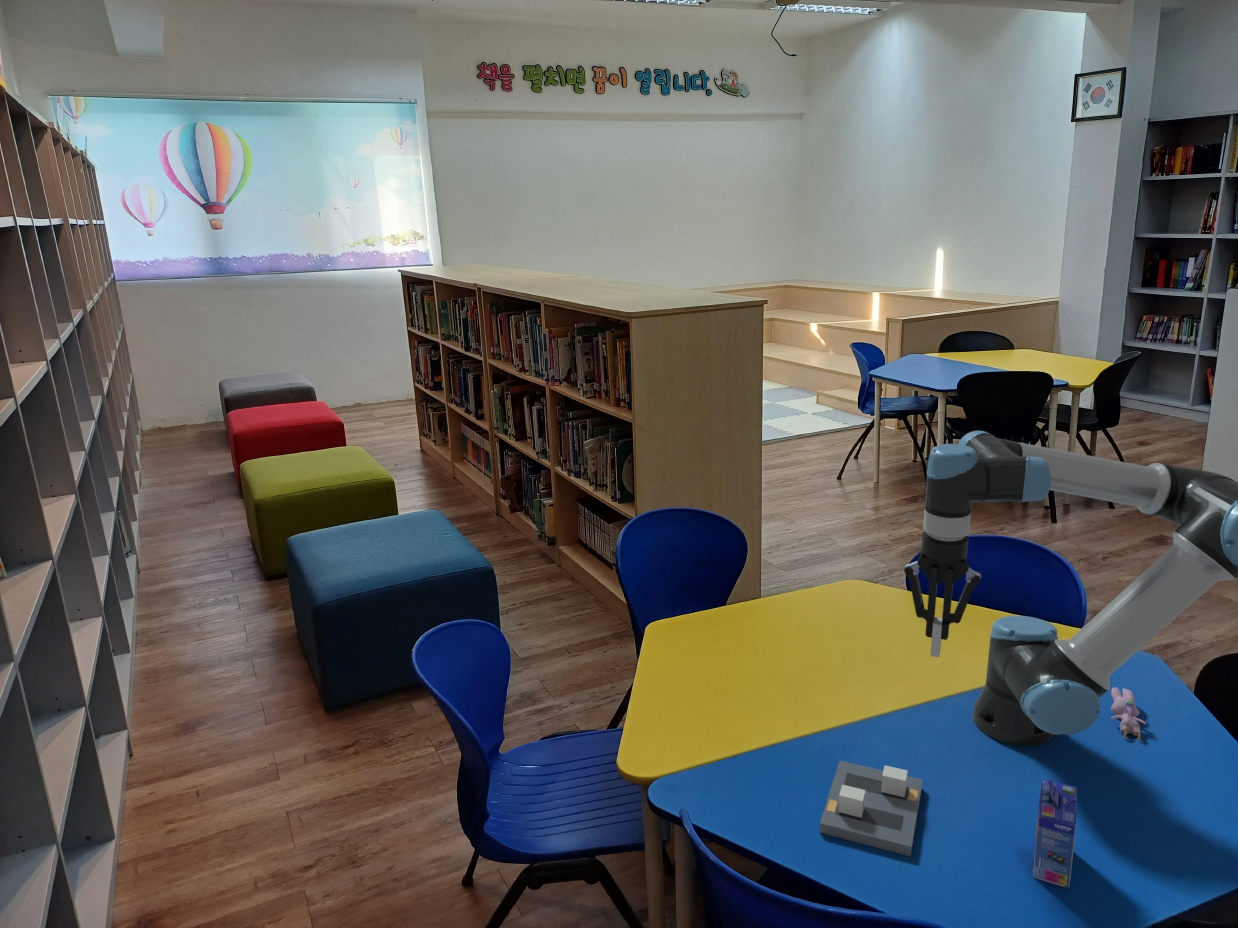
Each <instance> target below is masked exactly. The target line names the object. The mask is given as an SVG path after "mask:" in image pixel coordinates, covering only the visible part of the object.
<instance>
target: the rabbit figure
mask: <svg viewBox="0 0 1238 928" xmlns="http://www.w3.org/2000/svg"><path fill="white" fill-rule="evenodd" d="M1110 695H1111V698H1112V700H1113V703H1112V705H1111V707H1110V710H1111V712H1112V713H1113V714H1114V716H1111V717H1110V720H1112V721H1113V720H1115V719H1119V720H1121V722H1120V724H1119V730H1120V733H1122V734H1123V736H1122V739H1124V740H1125V738H1128V736H1127V735H1128V734H1131V735H1133V736H1134V737H1137V738H1136V739H1135V740H1138V741H1142V738H1141V733H1142V732H1141V726H1140V723H1142V725H1145V726H1146V725H1147V722H1146V721H1144V720H1142V719H1140V718H1137V717H1138V716H1139V715H1140V710H1139V709H1138V707H1137V706H1136V703H1135V695H1134V693H1133V691H1131V690H1130V689H1128V688H1122V693H1121V690H1120V688H1118V687H1116V686H1115V687H1112V688H1111V693H1110Z"/></svg>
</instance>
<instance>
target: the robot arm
mask: <svg viewBox="0 0 1238 928" xmlns="http://www.w3.org/2000/svg"><path fill="white" fill-rule="evenodd" d="M927 463H928V464H927V468H926V486H925V490H926V491H925V505H924V509H923V510H924V511H923V522H922V529H923V533H922V537H921V548H920V555H918V557H917V560H916V561H914V562H909V561H908V562H906V563H905V566H904V570H903V572H904V574H905V575H906V577H907V579H908V580H909V584H910V590H911V595H912V601H913V604H914V610H915V615H916V617H917V618H919V619H923V620H925V623H926V625H925V636H926V638H931V645H930V657H933V658H940V654H941V653H940V652H941V645H942V640H944V641H947V640H948V638H949V632H950V625H951V624H959V623H961V620H962V619H963V616H964V613H965V610H966V608H967V605H968V603H969V600H970V598H971V595H972V593H973V591H974V589H975V588H976V587H977V586H978V585H979V584H980V583H981V580H982V573H981V572H980V571H975V570H973V569H972V568H971V567H970V563H969V561H968V551H969V550H968V548H969V539H970V538H969V535H970V527H971V520H972V519H971V518H972V517H971V516H972V510H973V509H972V507H973V503H975V502H977V503H981V502H982V503H983V502H984V503H985V502H988V503H990V502H995V503H997V502H998V503H999V502H1002V503H1003V502H1004V503H1005V502H1008V503H1009V502H1017V503H1018V502H1021V503H1025V502H1033V501H1041V500H1043V499H1045V498H1047V495H1048V494H1049V493H1050V491H1054V492H1059V493H1065V494H1070V495H1075V496H1079V497H1086V498H1090V499H1095V500H1101V501H1106V502H1111V503H1117V504H1121V505H1127V506H1130V507H1131V506H1132V507H1137V508H1138V510H1139V512H1141V513H1142V514H1145V515H1150V516H1154V517H1157V518H1161V519H1162V520H1163V519H1164V520H1167V521H1168V522H1171V523H1172V524H1174V525H1176V526H1178V527H1177V528H1176V529H1175V530H1174V531H1173V532H1172V545H1171V547H1169V549H1167V550H1166V551H1165V552H1164V553H1163V554H1162V555H1161V556H1160V557H1159V558H1157V560H1155V562H1153V563H1152V564H1151V565H1149V567H1148V568H1147V569H1145V570H1144V571H1143V572H1142V573H1141V574H1140V575H1138V577H1137V578H1136V579H1134V581H1132V582H1131V583H1130V584H1129V585H1128V586H1127V587H1126V588H1125V589H1123V590H1122V591H1121V592H1120V593H1119V594H1118V595H1117V596H1116V597H1114V599H1113V600H1111V601H1110V602H1109V603H1108V604H1107V605H1106V606H1105V607H1103V609H1101V610H1100V612H1098V613H1097V614H1096V615H1095V616H1093V617H1092V619H1090V620H1089V621H1088V623H1086V624H1085V625H1084V626H1083V627H1081V629H1079V631H1077V632H1076V633H1075V634H1074V635H1073V636H1072V637H1071V638H1069V639H1059V636H1058V629H1057V627H1056V626H1055V625H1054V624H1052V623H1051V622H1049V621H1047V620H1044V619H1040V618H1037V617H1033V616H1029V615H1028V616H1026V615H1007V616H1003V617H1000V618H998V619H996V620H995V621H994V622H993V624H992V627H991V631H990V633H989V637H990V638H989V639H990V640H989V646H988V647H989V648H988V659H987V666H986V667H987V668H986V679H985V684H984V686H983V688H982V689H981V692H980V693H979V695H978V697H977V699H976V700H975V703H974V706H973V713H972V719H973V722H974V724H975V725H976V727H977V728H978V729H979V730H980V731H982V732H983V733H984V734H985V735H987V736H989V737H990V738H993V739H994V740H997V741H999V742H1002V743H1005V744H1009V745H1014V746H1019V747H1034V746H1035V747H1036V746H1040V745H1044V744H1045V743H1048V742H1049V741H1051V740H1052V739H1053V737H1054V735H1057V736H1060V735H1064V736H1065V735H1066V736H1067V735H1069V736H1070V735H1075V734H1079V733H1081V732H1084V731H1086V730H1087V729H1089V728H1090V727H1092V725H1094V724H1095V722H1096V721H1097V720H1098V718H1099V716H1100V714H1101V712H1100V710H1101V708H1102V707H1101V702H1100V698H1101V697H1102V696H1104V695H1105V694H1106V693H1107V692H1108V691H1109V690H1110V689H1111V675H1113V674H1114V673H1115V672H1116V671H1117V670H1118V669H1119V668H1121V667H1122V666H1123V665H1124V664H1125V663H1126V662H1127V661H1128V660H1130V659H1131V658H1133V656H1134V655H1135V654H1136V653H1138V652H1139V651H1140V650H1141V649H1142V648H1143V647H1145V645H1147V644H1148V643H1149V642H1150V641H1151V640H1152V639H1153V638H1155V637H1156V636H1157V635H1158V634H1159V633H1161V632H1162V631H1163V630H1164V629H1165V628H1167V626H1168V625H1170V624H1171V623H1172V622H1173V621H1174V620H1175V619H1176V618H1177V617H1179V616H1180V615H1181V614H1182V613H1183V612H1184V611H1186V609H1188V608H1189V607H1190V606H1192V604H1193V603H1194V602H1195V601H1197V600H1198V599H1199V598H1200V597H1202V595H1203V594H1205V593H1206V592H1207V591H1208V590H1209V589H1210V588H1212V587H1213V586H1214V585H1215V584H1216V583H1217V582H1220V581H1235V580H1237V579H1238V482H1237V481H1236V480H1235V479H1232V478H1231V477H1228V476H1226V475H1223V474H1221V473H1216V472H1214V471H1213V472H1212V471H1207V470H1202V469H1196V468H1189V467H1184V466H1178V465H1171V464H1165V463H1159V462H1154V463H1153V462H1152V463H1150V464H1149V465H1147V466H1145V465H1141V464H1135V463H1129V462H1124V461H1119V460H1116V459H1115V460H1113V459H1108V458H1103V457H1099V456H1093V455H1089V454H1082V453H1076V452H1072V451H1067V450H1061V449H1058V448H1057V449H1056V448H1050V447H1047V446H1046V447H1045V446H1041V445H1035V444H1029V443H1025V442H1017V441H1014V440H1013V441H1012V440H1009V439H1003V438H998V437H996V436H994V435H993V434H991V433H989V432H988V431H984V430H973V431H970V432H968V433H966V434H965V435H963V436H962V438H960V440H959V441H958V444H957V443H944V444H939V445H936V446H934V447H933V448H932V449H931V450H930V453H929V456H928V462H927ZM920 570H921V571H922V573H923V575H924V576H925V578H926V579H927V580H928V582H929V583H928V584H929V585H928V586H929V587H928V599H927V608H925V604H924V599H923V593H922V589H921V583H920V579H919V573H920ZM963 576H965V581H966V583H965V585H964V587H963V590H962V592H961V595H960V597H959V599H958V603H957V605H956V606H955V610H954V612H951V611H952V598H953V589H954V587H953V586H954V584H956V583H957V582H958V581H959V580H960V579H961V578H962V577H963ZM938 584H942V585H944V593H943V594H944V595H943V604H942V605H943V606H942V607H943V608H942V616H941V617H937V616H936V604H937V593H938ZM935 616H936V617H935Z"/></svg>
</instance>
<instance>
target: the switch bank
mask: <svg viewBox="0 0 1238 928" xmlns="http://www.w3.org/2000/svg"><path fill="white" fill-rule="evenodd" d="M836 767H837V768H836V770H835V773H834V777H833V780H832V783H831V786H830V789H829V793H828V796H827V799H826V803H825V806H824V809H823V812H822V815H821V819H820V822H819V833H820V834H824V835H827V836H831V837H835V838H840V839H843V840H847V841H850V842H853V843H859V844H863V845H865V846H868V847H872V848H876V849H880V850H885V851H888V852H893V853H895V854H900V855H903V856H907V857H911V856H912V851H913V844H914V838H915V833H916V828H917V827H916V826H917V819H918V814H919V808H920V802H921V795H922V789H923V781H924V780H923V779H922V778H917V777H914V776H909V775H907V786H906V792H905V797H901V796H897V795H892V794H888V793H884V792H881V786H882V774H883V770H884V769H878V768H874V767H870V766H866V765H865V766H864V765H860V764H856V763H853V762H849V761H848V762H847V761H845V760H844V761H843V760H838V764H837V766H836ZM842 785H846V786H850V787H855V788H859V789H863V790H866V792H865V807H864V811H863V815H862V818H860V817H856V816H852V815H848V814H844V813H840V812H838V807H839V794H840V790H841V787H842Z"/></svg>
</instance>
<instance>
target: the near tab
mask: <svg viewBox="0 0 1238 928" xmlns="http://www.w3.org/2000/svg"><path fill="white" fill-rule="evenodd" d="M865 792H866V790H863V789H859V788H855V787H850V786H846V785H842V787H841V790H840V794H839V807H838V812H840V813H844V814H848V815H852V816H856V817H860V818H862V815H863V811H864V807H865Z"/></svg>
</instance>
